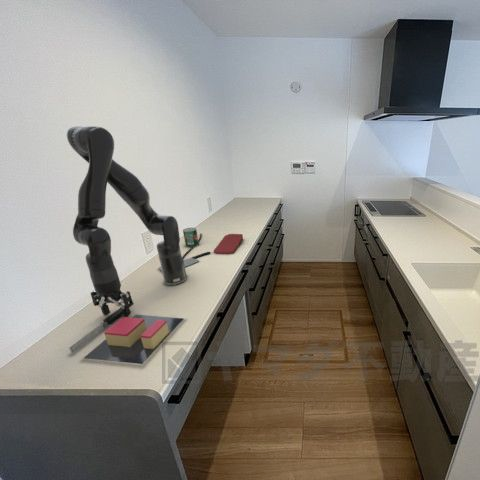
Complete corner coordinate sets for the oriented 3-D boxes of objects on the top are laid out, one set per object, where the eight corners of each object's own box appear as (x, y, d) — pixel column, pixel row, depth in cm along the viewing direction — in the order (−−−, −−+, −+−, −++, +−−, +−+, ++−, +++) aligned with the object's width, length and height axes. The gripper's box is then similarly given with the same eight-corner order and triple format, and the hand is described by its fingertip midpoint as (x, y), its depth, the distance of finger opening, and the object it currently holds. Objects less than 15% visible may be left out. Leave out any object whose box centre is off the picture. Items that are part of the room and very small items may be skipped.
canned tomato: (184, 245, 172) (181, 229, 168) (196, 242, 177) (194, 226, 173) (187, 248, 166) (184, 232, 162) (200, 245, 171) (198, 229, 167)
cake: (126, 328, 95) (123, 317, 93) (147, 330, 94) (144, 318, 92) (108, 345, 88) (103, 332, 86) (130, 347, 87) (126, 334, 85)
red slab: (233, 259, 161) (245, 239, 183) (232, 252, 159) (244, 232, 180) (214, 258, 161) (228, 238, 183) (212, 251, 159) (227, 232, 181)
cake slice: (160, 331, 94) (157, 319, 92) (169, 332, 94) (166, 320, 92) (143, 348, 86) (140, 335, 85) (153, 349, 86) (150, 336, 84)
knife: (124, 311, 106) (122, 305, 105) (129, 312, 106) (127, 306, 104) (69, 354, 85) (65, 347, 84) (75, 354, 85) (72, 347, 84)
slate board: (136, 316, 103) (135, 314, 103) (184, 320, 101) (184, 318, 101) (84, 360, 83) (83, 358, 82) (143, 366, 81) (142, 364, 80)
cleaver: (217, 256, 156) (208, 251, 162) (217, 255, 156) (208, 251, 162) (165, 274, 135) (157, 268, 140) (165, 273, 134) (157, 267, 140)
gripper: (131, 274, 98) (141, 310, 104) (96, 272, 99) (108, 307, 105) (114, 284, 91) (126, 322, 97) (77, 282, 92) (91, 319, 98)
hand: (117, 315), depth 101 cm, fingers open, 8 cm apart
